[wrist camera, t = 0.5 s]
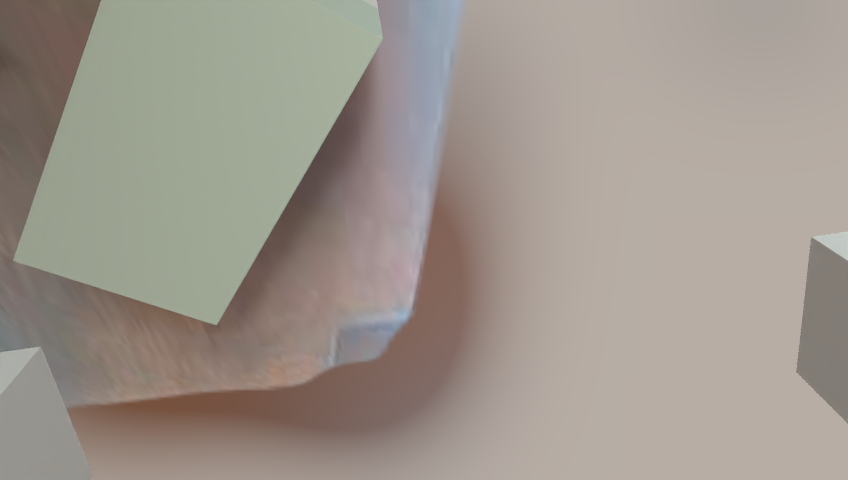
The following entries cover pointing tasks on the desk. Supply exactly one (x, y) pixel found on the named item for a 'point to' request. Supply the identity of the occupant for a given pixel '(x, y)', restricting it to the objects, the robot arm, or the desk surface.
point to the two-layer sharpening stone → (191, 141)
